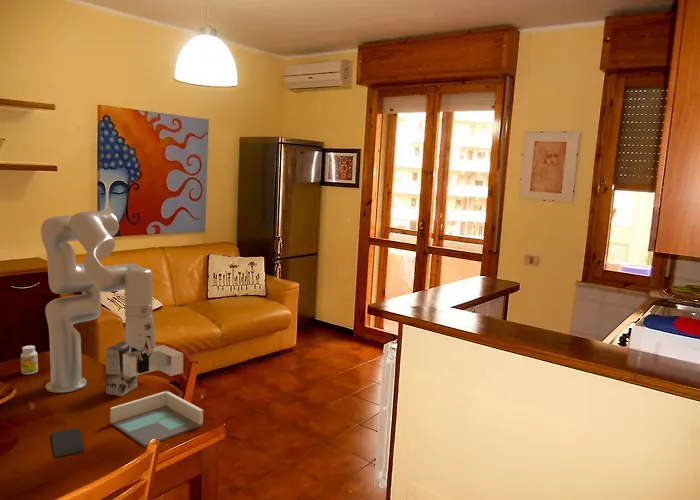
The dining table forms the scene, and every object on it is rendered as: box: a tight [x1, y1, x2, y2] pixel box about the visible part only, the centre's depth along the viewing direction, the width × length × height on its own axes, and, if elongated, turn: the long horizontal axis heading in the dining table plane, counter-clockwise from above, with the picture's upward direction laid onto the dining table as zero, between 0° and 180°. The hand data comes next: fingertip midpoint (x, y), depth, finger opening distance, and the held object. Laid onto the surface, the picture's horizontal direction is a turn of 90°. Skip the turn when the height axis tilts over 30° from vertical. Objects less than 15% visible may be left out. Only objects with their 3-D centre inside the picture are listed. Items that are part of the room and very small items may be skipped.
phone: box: [50, 427, 85, 459], centre depth 151 cm, size 7×1×15 cm
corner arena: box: [109, 390, 204, 448], centre depth 164 cm, size 20×19×5 cm
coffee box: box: [105, 341, 138, 397], centre depth 186 cm, size 9×6×16 cm
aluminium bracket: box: [123, 344, 184, 377], centre depth 160 cm, size 13×11×6 cm
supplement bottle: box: [20, 344, 39, 375], centre depth 199 cm, size 5×5×10 cm
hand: (139, 369), depth 160 cm, fingers closed on aluminium bracket, 4 cm apart
